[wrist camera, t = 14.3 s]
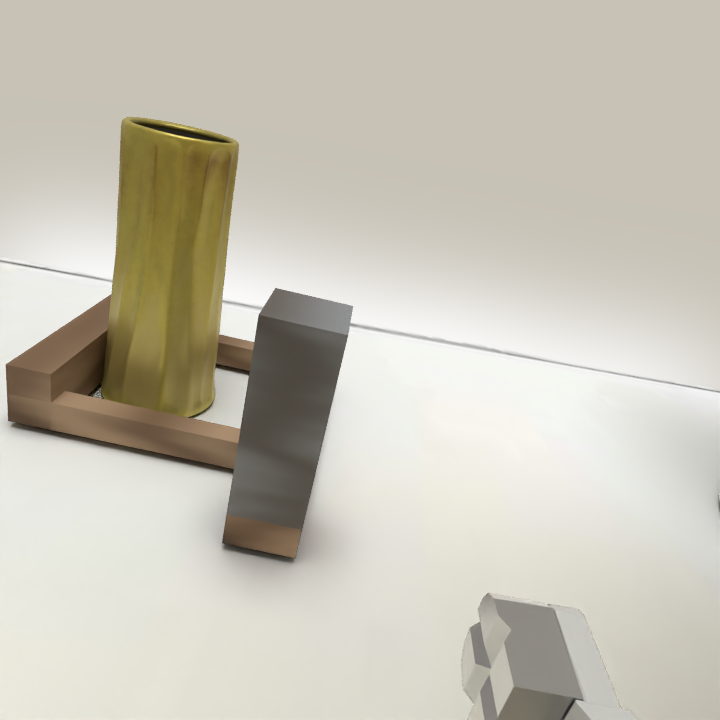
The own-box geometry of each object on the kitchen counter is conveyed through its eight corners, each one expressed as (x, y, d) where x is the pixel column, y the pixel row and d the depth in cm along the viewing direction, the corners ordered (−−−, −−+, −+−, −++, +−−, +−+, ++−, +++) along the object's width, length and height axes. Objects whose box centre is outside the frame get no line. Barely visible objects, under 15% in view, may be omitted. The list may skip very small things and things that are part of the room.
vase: (133, 359, 34) (148, 114, 29) (228, 382, 34) (263, 143, 29) (77, 405, 29) (82, 113, 23) (192, 433, 29) (225, 149, 23)
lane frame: (331, 380, 37) (364, 235, 33) (295, 558, 22) (347, 335, 18) (116, 332, 36) (123, 177, 32) (-69, 483, 22) (-98, 233, 18)
